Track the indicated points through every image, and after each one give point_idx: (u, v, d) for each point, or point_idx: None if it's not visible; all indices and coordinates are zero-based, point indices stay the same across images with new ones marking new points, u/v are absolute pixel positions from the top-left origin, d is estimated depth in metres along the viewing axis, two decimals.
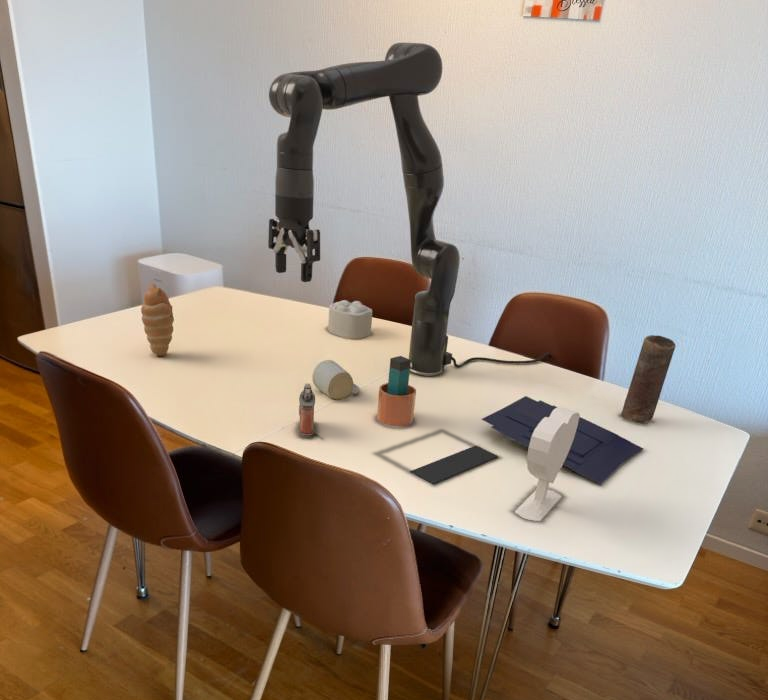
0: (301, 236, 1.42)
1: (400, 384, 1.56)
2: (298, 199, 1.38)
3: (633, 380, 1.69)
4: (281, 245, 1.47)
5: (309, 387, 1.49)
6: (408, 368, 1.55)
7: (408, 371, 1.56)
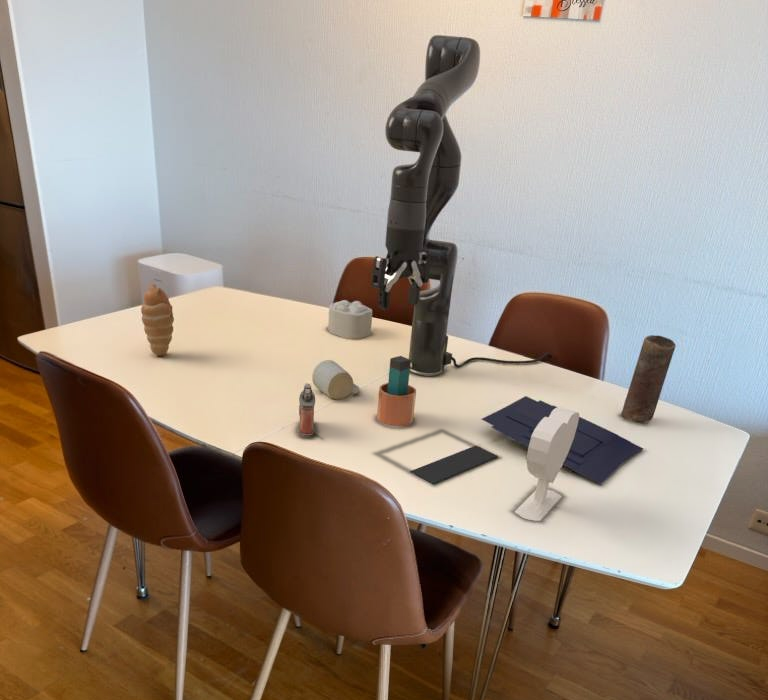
0: None
1: (400, 384, 1.56)
2: (387, 227, 1.40)
3: (633, 380, 1.69)
4: None
5: (309, 387, 1.49)
6: (408, 368, 1.55)
7: (408, 371, 1.56)
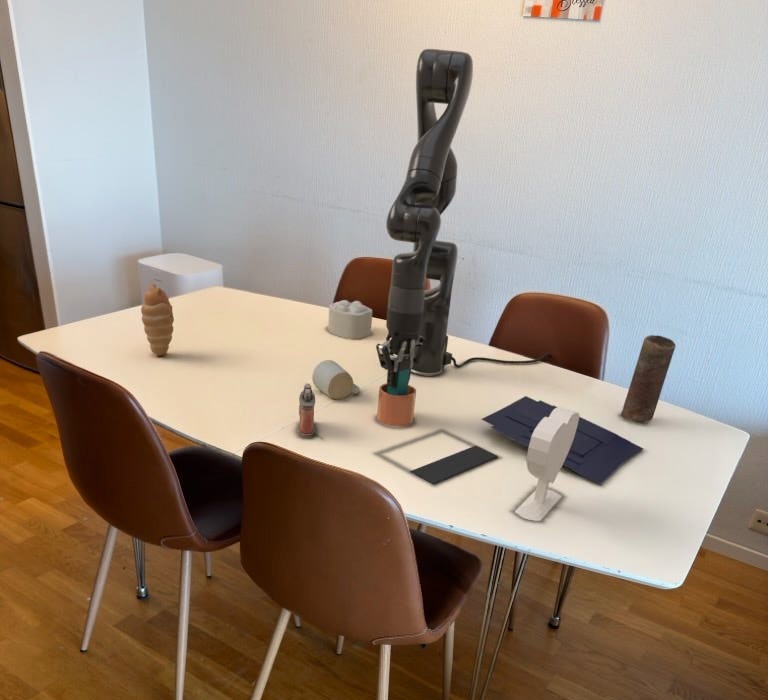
0: None
1: (400, 384, 1.56)
2: (388, 309, 1.48)
3: (633, 380, 1.69)
4: None
5: (309, 387, 1.49)
6: (408, 368, 1.55)
7: (408, 371, 1.56)
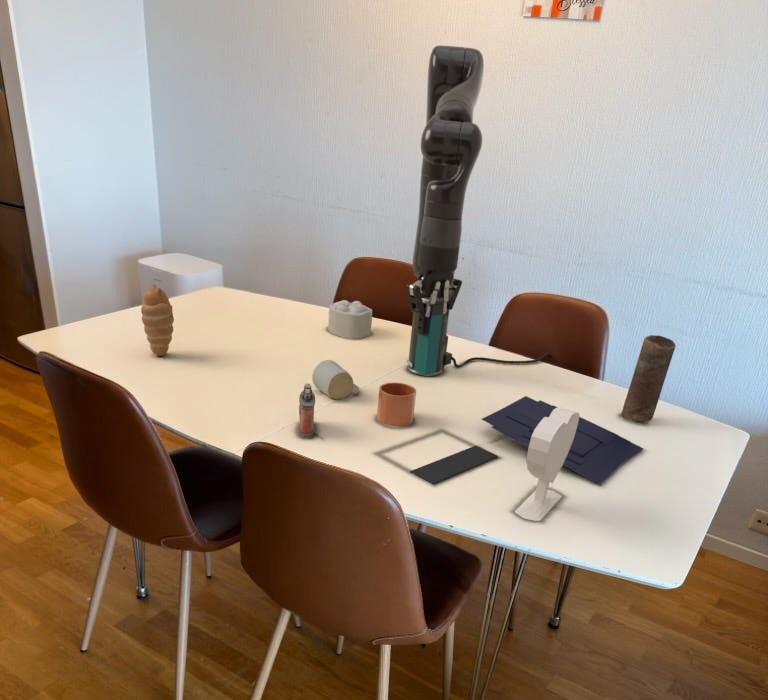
0: None
1: (431, 331, 1.40)
2: (420, 244, 1.32)
3: (633, 380, 1.69)
4: None
5: (309, 387, 1.49)
6: (441, 313, 1.40)
7: (441, 317, 1.40)
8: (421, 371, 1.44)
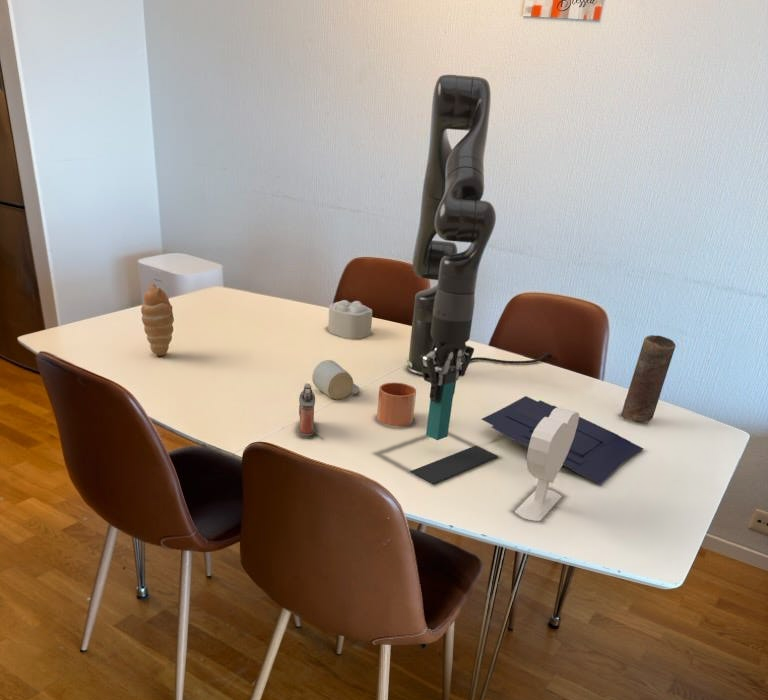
0: None
1: (444, 398, 1.41)
2: (434, 317, 1.33)
3: (633, 380, 1.69)
4: None
5: (309, 387, 1.49)
6: (453, 381, 1.40)
7: (453, 384, 1.41)
8: (433, 436, 1.45)
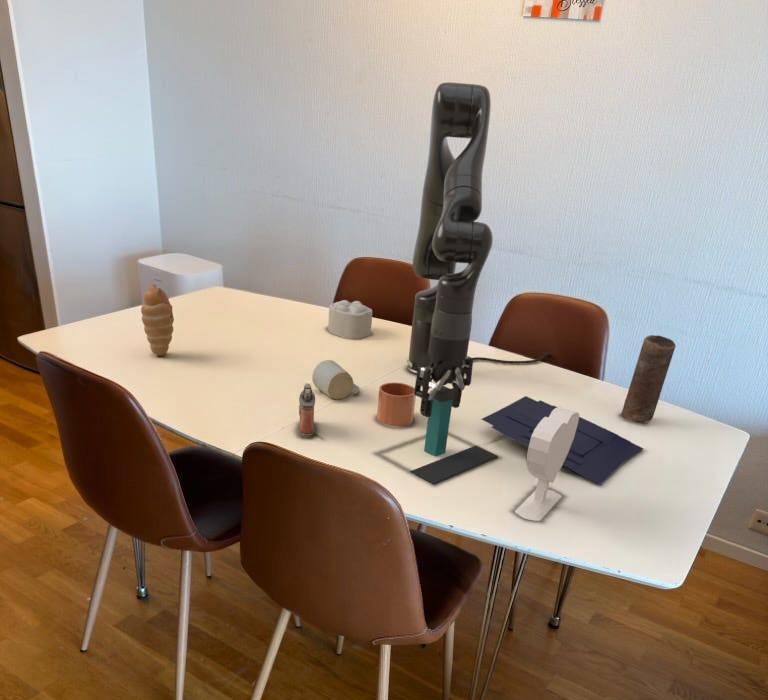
0: None
1: (442, 416, 1.43)
2: (431, 335, 1.35)
3: (633, 380, 1.69)
4: None
5: (309, 387, 1.49)
6: (451, 399, 1.42)
7: (451, 402, 1.43)
8: (431, 452, 1.47)
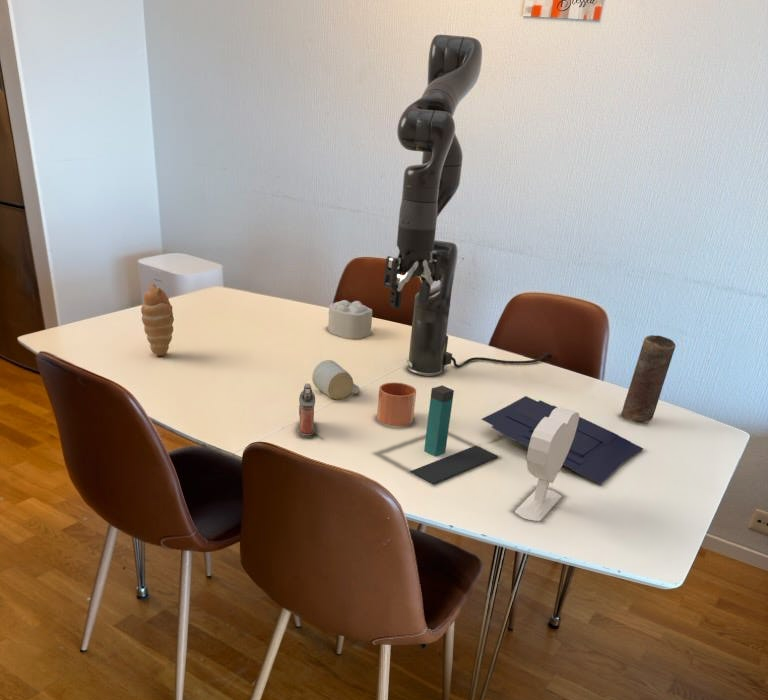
0: None
1: (442, 416, 1.43)
2: (399, 226, 1.41)
3: (633, 380, 1.69)
4: None
5: (309, 387, 1.49)
6: (451, 399, 1.42)
7: (451, 402, 1.43)
8: (431, 452, 1.47)
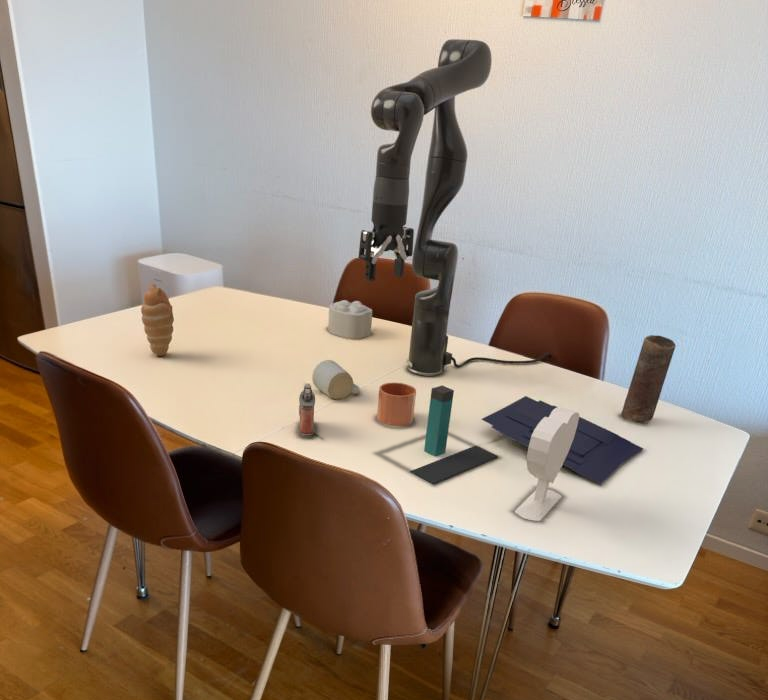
0: None
1: (442, 416, 1.43)
2: (373, 202, 1.50)
3: (633, 380, 1.69)
4: None
5: (309, 387, 1.49)
6: (451, 399, 1.42)
7: (451, 402, 1.43)
8: (431, 452, 1.47)
